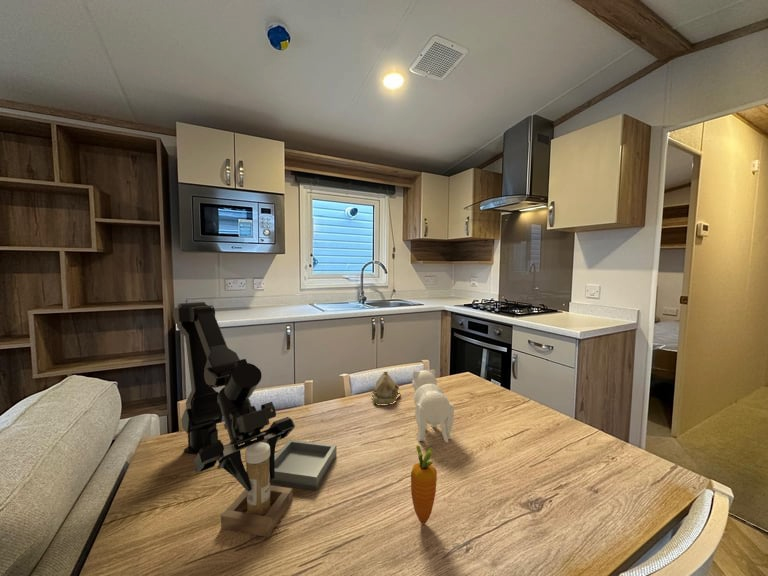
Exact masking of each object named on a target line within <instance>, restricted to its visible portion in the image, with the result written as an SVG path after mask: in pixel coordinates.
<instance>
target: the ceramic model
mask: <svg viewBox="0 0 768 576" xmlns="http://www.w3.org/2000/svg"><path fill="white" fill-rule="evenodd" d="M375 384H376V385H375V388H374V389H373V390H372V393H373V394H374V395H372V397H373V398H371V401H372V400H373V401H372V403H373V402H374V403H377V404H390V403H393V402H394V401H396V397H397V395H398V394H401V392H399V391H398V390H399V389H400V385H398V384H397V383H396V382H395V381H394V380H393V379H392V377H391V376H390V375H389V374H388V371H384V372H383V373H382V374H381V375H380V377H378V379H377V380H376V383H375ZM398 392H399V393H398ZM372 393H371V394H372ZM396 402H397V401H396ZM374 403H373V404H374Z"/></svg>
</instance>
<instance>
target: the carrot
mask: <svg viewBox="0 0 768 576" xmlns="http://www.w3.org/2000/svg"><path fill="white" fill-rule="evenodd" d="M415 447H416V451H417V454H418V457H417V458H418V461H419V462H418V463H415V464H413V466H412V469H411V471H410V487H411V488H410V489H411V492H410V493H411V499H412V500H411V501H412V506H413V509H414V512H415V514H416V517H417V519H418V520H419V523H421V525H424V524H426V523H427V522H428V520H429V519H430V517H431V515H432V511H433V508H434V503H435V497H436V494H437V493H436V492H437V477H438V476H437V475H438V472H437V469H436V468H435V467H434V466H433V463H434V462H433V460H430V459H431V457H432V455H433V448H429V449H428V450H427V451H426V453H425V455H424V454H423V452H422V449H421V446H420V445H419V444H418V445H416V446H415ZM423 456H424V457H423Z"/></svg>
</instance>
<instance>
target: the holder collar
mask: <svg viewBox="0 0 768 576" xmlns="http://www.w3.org/2000/svg"><path fill="white" fill-rule="evenodd" d="M292 502H293V487H287V486H285V487H284V486H280V485H279V486H278V485H273V484H270V503H273V504H272V506H271V508H270V510H269V511H268V512H267V514H266V515H265V516H259V515H253V514H248V513H247V512H245V511H246V509H248V508H247V490H246V489H245V488H244V490H243V491H242V492H241V493H240V494H239V495H238V497H237V498H236V499H234V501H233V502H232V503H231V504H229V506H228V507H227V508H226V510H225V511H224V512H222V514H221V515H220V528H221V529H222V530H227V531H233V532H238V533H243V534H249V535H254V536H259V537H265V538H268V537H269V536H270V534H271V533H272V531H273V530H274V528H276V526H277V524H278V522H279V521H280V519H281V518H282V517H283V515H284V513H285V512H286V511H287V509H288V508H289V506H290V504H291V503H292Z"/></svg>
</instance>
